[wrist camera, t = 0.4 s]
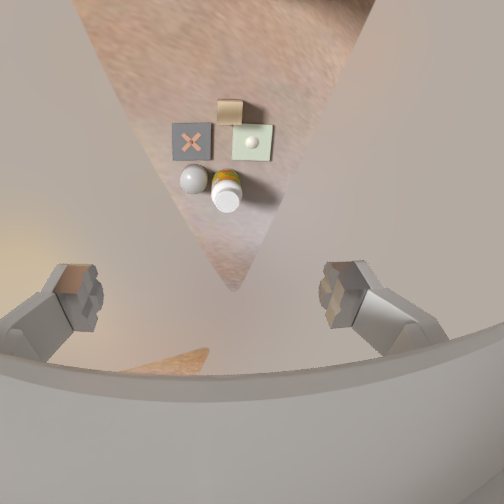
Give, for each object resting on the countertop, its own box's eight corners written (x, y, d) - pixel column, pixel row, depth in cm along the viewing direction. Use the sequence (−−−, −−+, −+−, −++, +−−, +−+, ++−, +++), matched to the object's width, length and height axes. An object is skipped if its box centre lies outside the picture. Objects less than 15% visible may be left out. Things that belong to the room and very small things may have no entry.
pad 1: (172, 123, 47) (171, 124, 46) (211, 122, 47) (211, 123, 47) (173, 159, 51) (172, 160, 50) (210, 158, 51) (210, 160, 51)
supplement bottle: (245, 176, 54) (250, 197, 46) (230, 198, 57) (232, 222, 49) (221, 162, 52) (222, 181, 44) (206, 185, 54) (204, 207, 47)
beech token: (217, 98, 45) (217, 101, 41) (240, 99, 46) (242, 101, 42) (216, 120, 47) (216, 124, 43) (239, 120, 48) (241, 125, 44)
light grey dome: (181, 164, 51) (179, 169, 49) (207, 163, 52) (207, 168, 50) (182, 188, 54) (180, 194, 52) (207, 187, 55) (207, 194, 52)
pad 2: (233, 123, 48) (233, 123, 47) (272, 124, 49) (272, 125, 48) (231, 159, 52) (232, 160, 51) (268, 160, 53) (269, 161, 52)
